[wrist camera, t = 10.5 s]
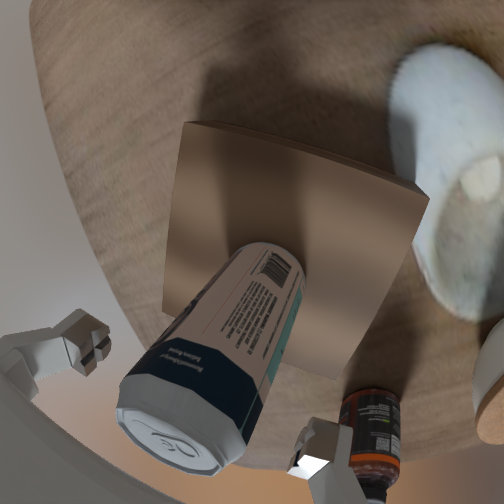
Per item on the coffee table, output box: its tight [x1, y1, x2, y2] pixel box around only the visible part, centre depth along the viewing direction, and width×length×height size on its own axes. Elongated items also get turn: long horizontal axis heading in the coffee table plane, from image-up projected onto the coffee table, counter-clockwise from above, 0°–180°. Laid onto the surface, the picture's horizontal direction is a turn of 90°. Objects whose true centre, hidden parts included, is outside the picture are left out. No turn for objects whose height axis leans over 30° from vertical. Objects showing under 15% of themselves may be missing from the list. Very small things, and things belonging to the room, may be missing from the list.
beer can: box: [116, 242, 306, 477], centre depth 13 cm, size 5×5×12 cm
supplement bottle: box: [338, 388, 400, 504], centre depth 20 cm, size 6×6×11 cm
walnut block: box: [162, 121, 430, 380], centre depth 20 cm, size 14×14×4 cm
